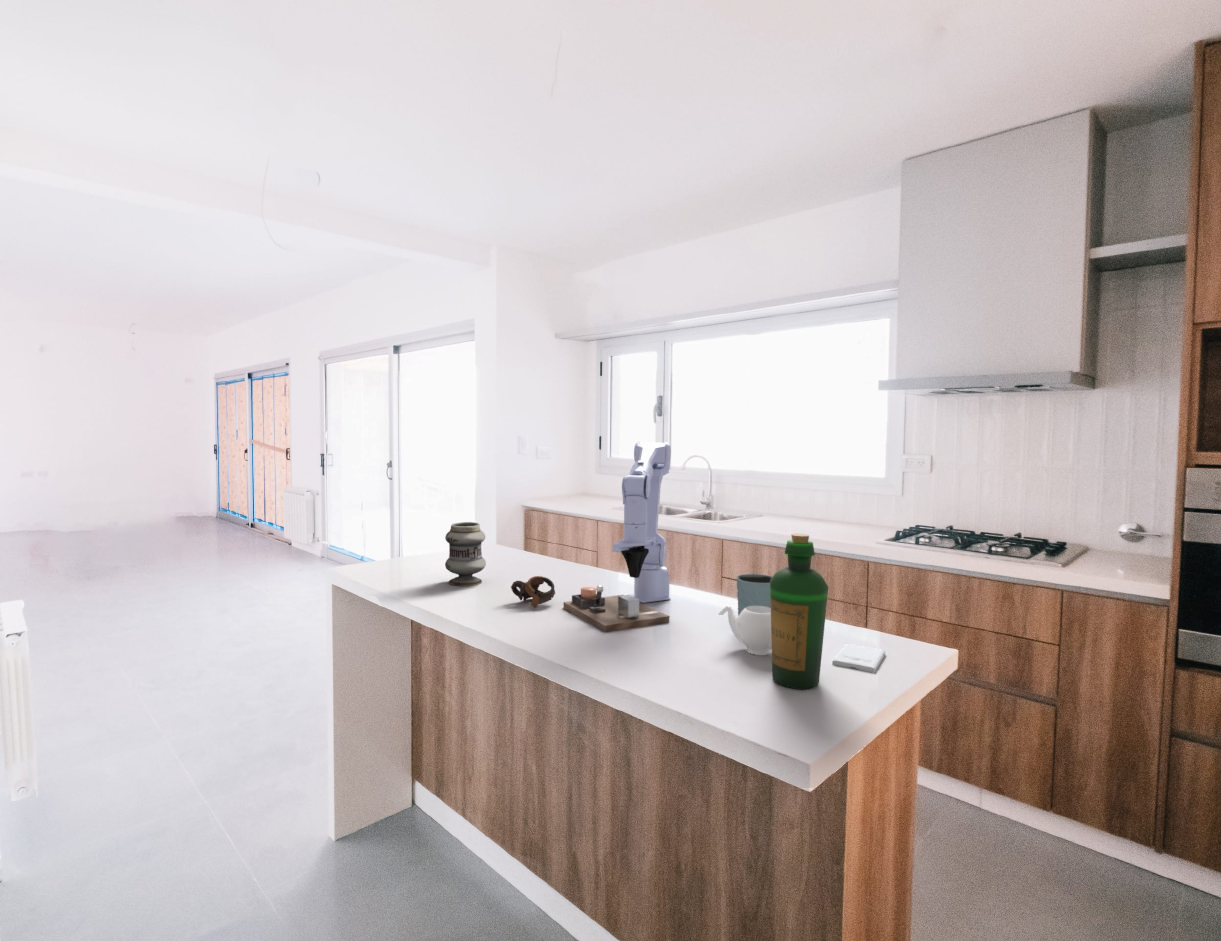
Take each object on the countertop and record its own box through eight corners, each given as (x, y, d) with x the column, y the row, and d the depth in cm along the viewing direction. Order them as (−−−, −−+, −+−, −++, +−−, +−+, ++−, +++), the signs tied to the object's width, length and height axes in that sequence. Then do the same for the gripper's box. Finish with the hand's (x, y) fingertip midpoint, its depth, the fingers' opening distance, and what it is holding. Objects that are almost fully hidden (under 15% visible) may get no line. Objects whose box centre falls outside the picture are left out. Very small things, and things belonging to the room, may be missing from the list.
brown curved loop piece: (552, 599, 182) (559, 577, 178) (547, 623, 174) (554, 600, 170) (510, 588, 181) (516, 566, 177) (503, 611, 173) (509, 588, 169)
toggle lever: (599, 604, 165) (602, 583, 163) (602, 608, 164) (605, 586, 162) (592, 605, 164) (595, 584, 162) (595, 608, 163) (598, 587, 161)
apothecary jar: (438, 585, 193) (438, 525, 192) (454, 577, 205) (454, 520, 204) (477, 588, 191) (477, 527, 190) (491, 579, 203) (491, 521, 202)
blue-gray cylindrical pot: (729, 629, 156) (731, 579, 155) (742, 618, 165) (743, 571, 164) (772, 635, 151) (774, 584, 150) (782, 624, 160) (784, 576, 159)
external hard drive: (884, 657, 140) (874, 675, 129) (845, 650, 144) (831, 666, 133) (885, 649, 139) (874, 667, 129) (845, 642, 144) (832, 659, 133)
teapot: (728, 636, 150) (729, 596, 149) (811, 657, 137) (813, 613, 136) (706, 646, 143) (707, 604, 142) (791, 669, 130) (793, 623, 129)
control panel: (622, 600, 181) (622, 587, 180) (669, 622, 161) (669, 608, 160) (563, 607, 172) (563, 594, 172) (604, 631, 152) (605, 617, 152)
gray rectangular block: (628, 611, 163) (628, 594, 163) (638, 616, 159) (639, 599, 158) (618, 612, 161) (618, 596, 161) (628, 618, 157) (628, 600, 157)
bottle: (758, 671, 128) (763, 530, 127) (811, 670, 129) (816, 530, 127) (777, 693, 118) (782, 539, 116) (834, 692, 119) (840, 539, 117)
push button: (591, 595, 173) (591, 586, 173) (598, 599, 169) (598, 589, 169) (578, 597, 171) (578, 588, 171) (584, 601, 168) (584, 591, 167)
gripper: (642, 518, 170) (641, 570, 171) (603, 524, 160) (602, 578, 161) (663, 521, 166) (662, 574, 166) (625, 527, 155) (624, 583, 156)
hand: (634, 577), depth 163 cm, fingers closed
